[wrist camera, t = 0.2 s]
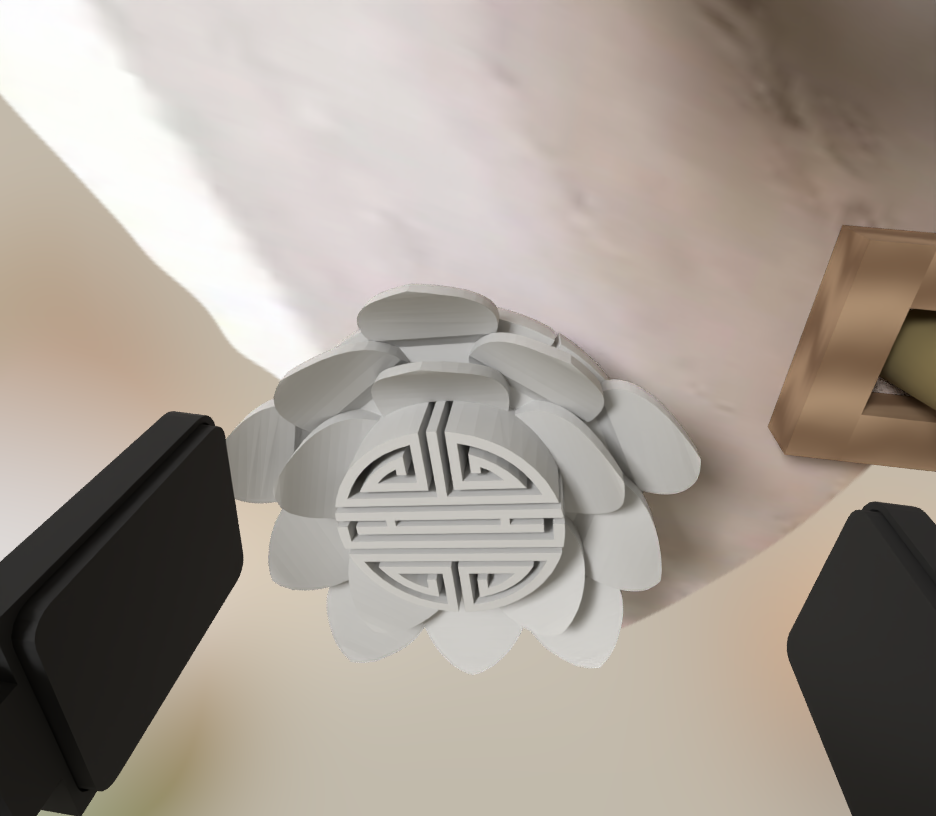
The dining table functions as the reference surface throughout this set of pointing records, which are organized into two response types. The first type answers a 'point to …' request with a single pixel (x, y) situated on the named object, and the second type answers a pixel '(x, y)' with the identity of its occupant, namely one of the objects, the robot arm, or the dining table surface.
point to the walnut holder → (860, 356)
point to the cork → (914, 357)
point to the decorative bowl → (462, 482)
